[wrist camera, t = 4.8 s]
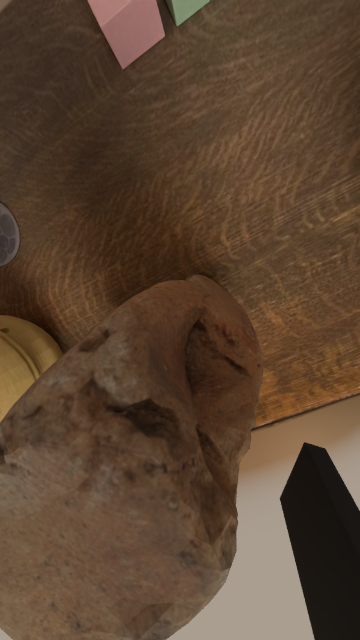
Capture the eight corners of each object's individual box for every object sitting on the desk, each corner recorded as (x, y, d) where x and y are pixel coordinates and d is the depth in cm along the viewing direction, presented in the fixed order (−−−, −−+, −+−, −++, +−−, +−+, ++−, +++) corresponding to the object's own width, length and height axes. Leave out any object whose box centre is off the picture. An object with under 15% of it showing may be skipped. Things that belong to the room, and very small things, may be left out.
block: (176, 387, 27) (58, 725, 7) (123, 337, 26) (-149, 556, 7) (255, 314, 24) (406, 560, 4) (196, 257, 23) (74, 250, 4)
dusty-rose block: (141, -19, 19) (120, -88, 15) (165, 36, 20) (151, -18, 16) (98, 18, 20) (69, -38, 16) (122, 70, 21) (100, 27, 17)
